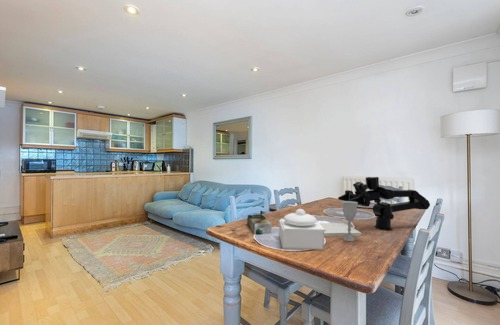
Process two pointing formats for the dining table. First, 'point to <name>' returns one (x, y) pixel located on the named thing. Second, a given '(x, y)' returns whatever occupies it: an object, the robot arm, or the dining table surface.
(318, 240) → the butter dish
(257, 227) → the juice carton
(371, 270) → the dining table surface
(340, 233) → the platter
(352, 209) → the chalice
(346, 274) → the dining table surface
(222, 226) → the dining table surface
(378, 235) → the dining table surface
